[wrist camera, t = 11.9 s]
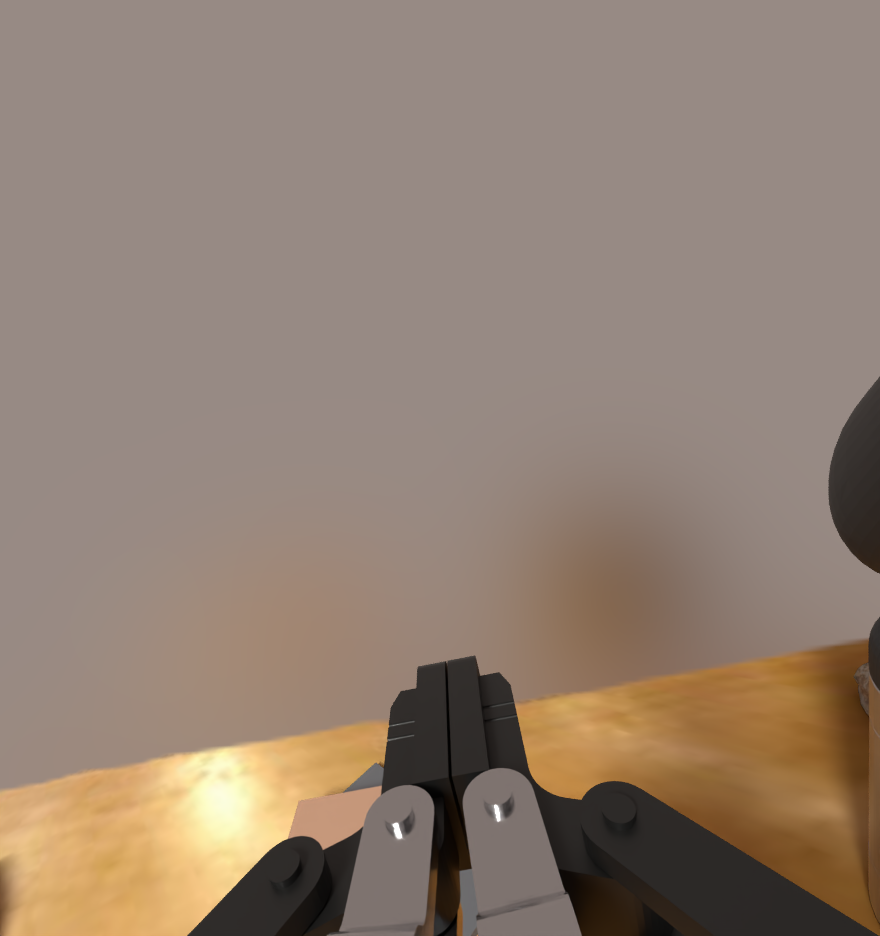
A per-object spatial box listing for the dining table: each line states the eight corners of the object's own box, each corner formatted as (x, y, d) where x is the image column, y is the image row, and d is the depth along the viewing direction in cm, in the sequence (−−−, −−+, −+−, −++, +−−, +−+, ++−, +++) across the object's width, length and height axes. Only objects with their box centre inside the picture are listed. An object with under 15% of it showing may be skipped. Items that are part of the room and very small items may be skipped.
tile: (253, 1013, 34) (305, 819, 47) (371, 994, 33) (389, 804, 47) (243, 991, 33) (298, 800, 47) (362, 971, 33) (383, 785, 46)
